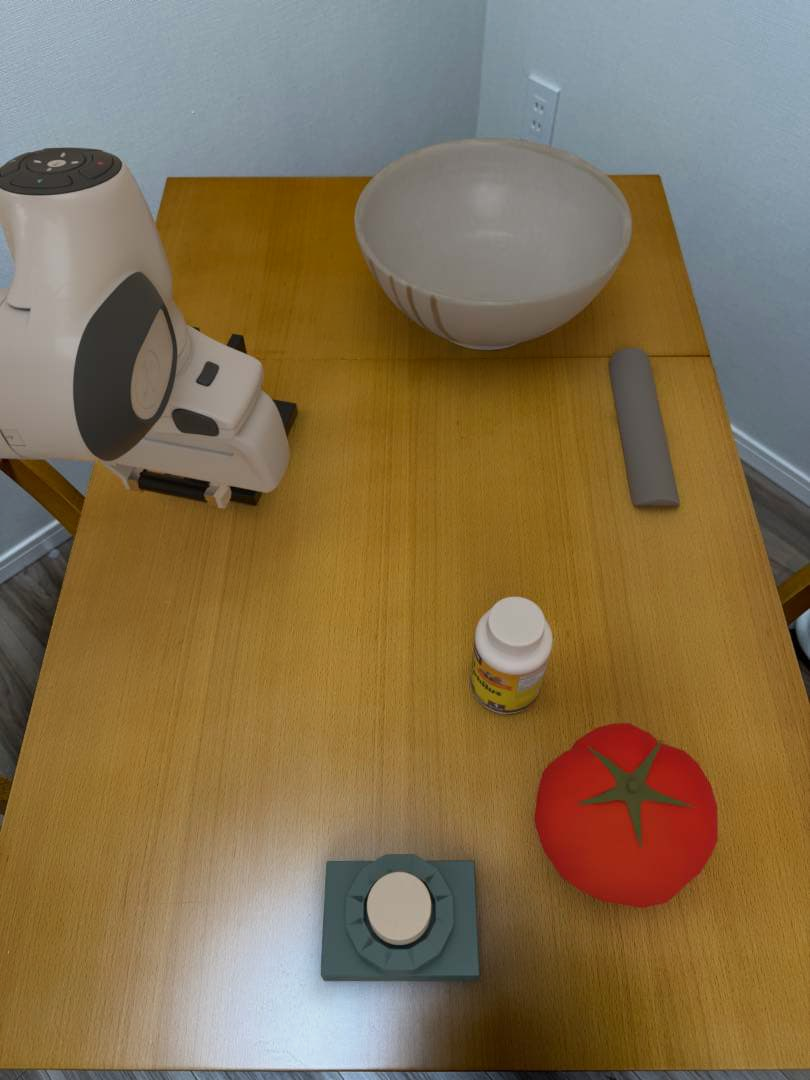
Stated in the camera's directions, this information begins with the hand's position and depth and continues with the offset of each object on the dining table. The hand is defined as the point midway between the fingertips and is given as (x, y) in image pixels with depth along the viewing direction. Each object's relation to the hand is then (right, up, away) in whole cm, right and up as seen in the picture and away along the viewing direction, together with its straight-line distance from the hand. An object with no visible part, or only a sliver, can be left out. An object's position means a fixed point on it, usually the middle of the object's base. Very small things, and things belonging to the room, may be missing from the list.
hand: (179, 493), depth 72 cm
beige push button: (+19, -28, -17) cm, 38 cm away
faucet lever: (+1, +6, +1) cm, 6 cm away
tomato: (+33, -25, -11) cm, 43 cm away
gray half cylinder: (+42, +6, +11) cm, 44 cm away
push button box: (+19, -30, -14) cm, 38 cm away
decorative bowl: (+28, +21, +21) cm, 40 cm away
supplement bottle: (+27, -15, -4) cm, 31 cm away
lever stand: (+2, +5, +10) cm, 11 cm away
